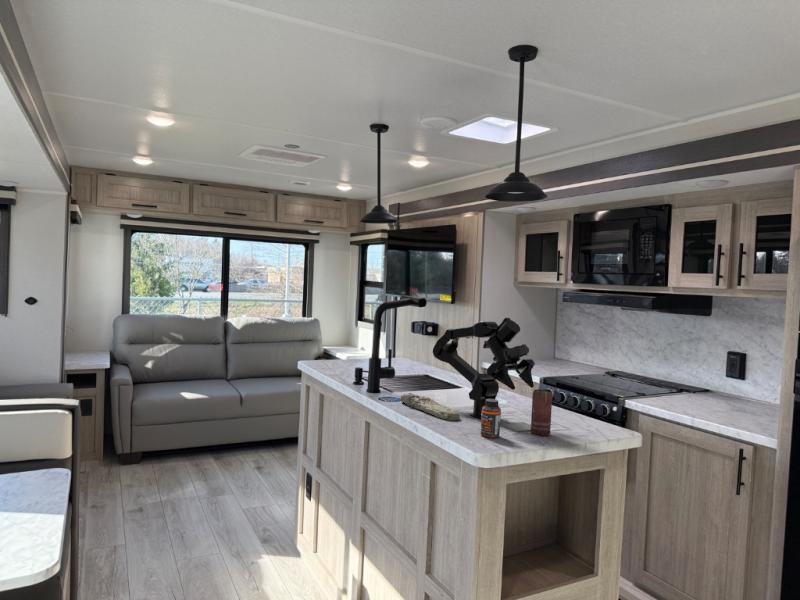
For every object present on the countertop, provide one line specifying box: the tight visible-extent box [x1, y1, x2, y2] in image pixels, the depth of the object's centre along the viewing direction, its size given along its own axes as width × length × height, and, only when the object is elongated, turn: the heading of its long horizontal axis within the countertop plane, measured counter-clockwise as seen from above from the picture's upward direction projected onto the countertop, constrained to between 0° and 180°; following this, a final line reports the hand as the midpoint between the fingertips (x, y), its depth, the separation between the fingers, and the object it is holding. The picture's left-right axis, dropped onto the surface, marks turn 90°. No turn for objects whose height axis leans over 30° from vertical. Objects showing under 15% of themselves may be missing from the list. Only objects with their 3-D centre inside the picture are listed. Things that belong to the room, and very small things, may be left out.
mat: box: [500, 421, 531, 433], centre depth 191 cm, size 10×10×1 cm
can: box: [530, 389, 553, 437], centre depth 183 cm, size 6×6×14 cm
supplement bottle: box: [480, 399, 502, 439], centre depth 178 cm, size 6×6×11 cm
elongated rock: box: [399, 392, 460, 422], centre depth 211 cm, size 35×5×10 cm
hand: (523, 388), depth 189 cm, fingers open, 9 cm apart
